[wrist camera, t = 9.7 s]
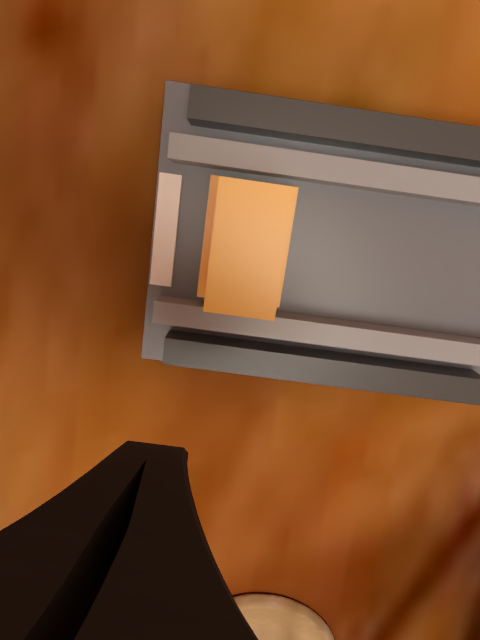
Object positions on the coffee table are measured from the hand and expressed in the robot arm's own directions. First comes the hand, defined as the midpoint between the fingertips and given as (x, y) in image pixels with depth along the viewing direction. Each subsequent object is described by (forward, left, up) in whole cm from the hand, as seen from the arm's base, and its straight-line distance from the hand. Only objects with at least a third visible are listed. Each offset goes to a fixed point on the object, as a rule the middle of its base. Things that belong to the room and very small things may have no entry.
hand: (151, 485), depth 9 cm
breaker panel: (+5, +5, -9) cm, 12 cm away
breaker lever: (+1, +5, -8) cm, 9 cm away
